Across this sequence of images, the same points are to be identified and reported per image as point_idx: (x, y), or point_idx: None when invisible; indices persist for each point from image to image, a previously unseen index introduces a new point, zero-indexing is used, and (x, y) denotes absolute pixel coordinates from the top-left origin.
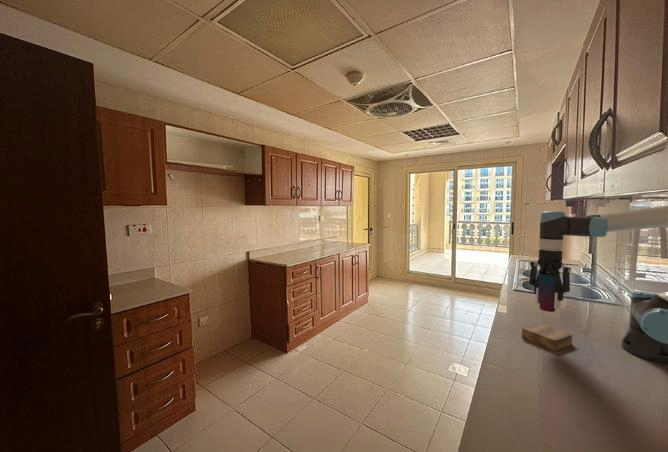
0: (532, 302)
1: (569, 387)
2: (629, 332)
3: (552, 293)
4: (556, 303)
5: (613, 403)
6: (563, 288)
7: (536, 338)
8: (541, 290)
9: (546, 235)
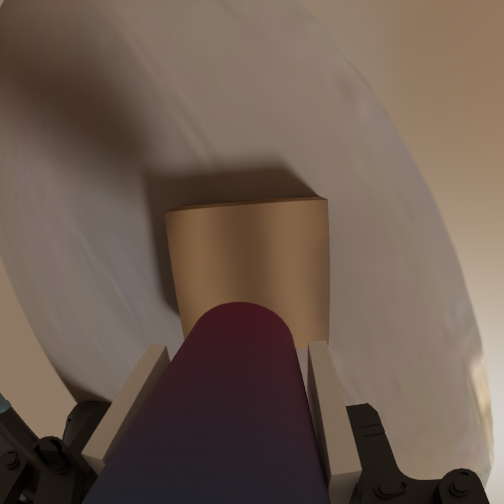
0: None
1: (56, 46)
2: None
3: (122, 438)
4: (132, 372)
5: (5, 94)
6: (7, 483)
7: (251, 202)
8: (242, 435)
9: None
